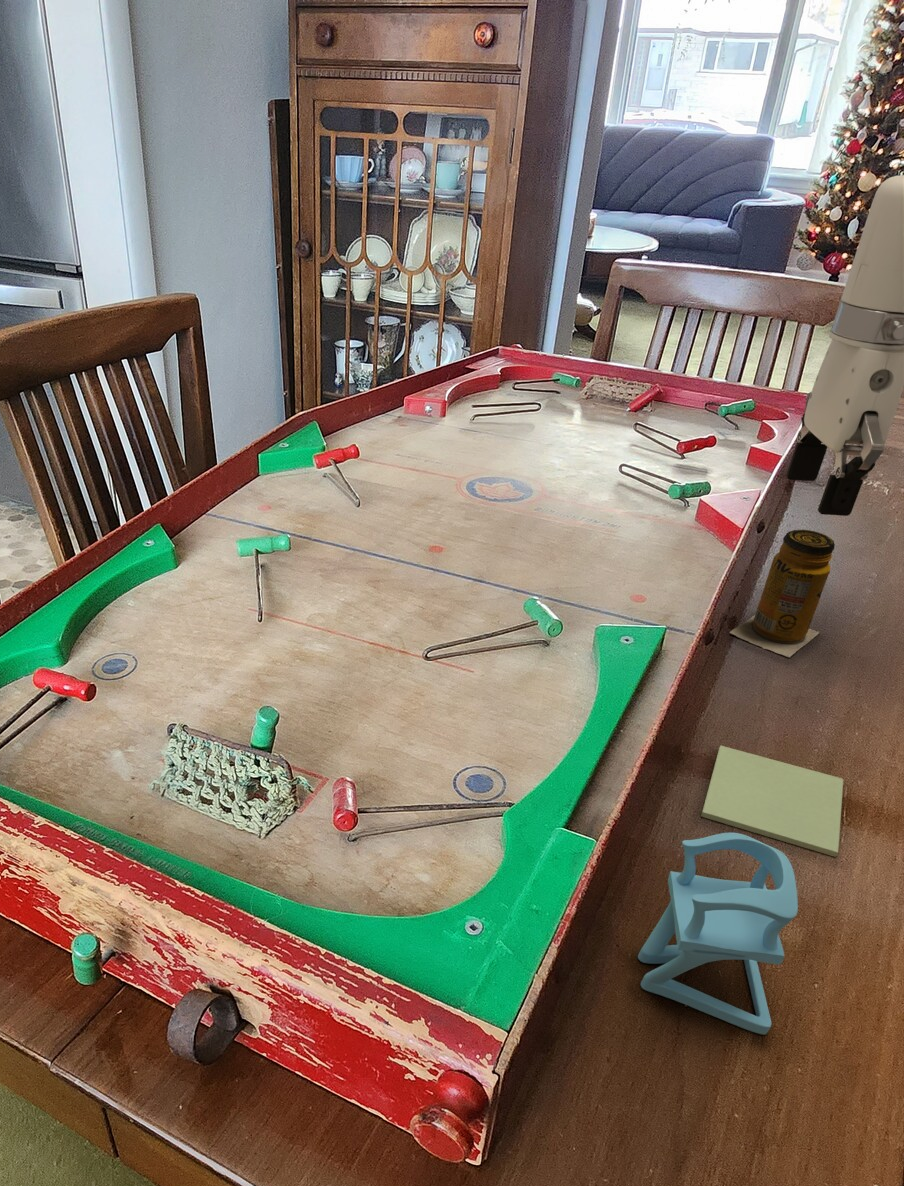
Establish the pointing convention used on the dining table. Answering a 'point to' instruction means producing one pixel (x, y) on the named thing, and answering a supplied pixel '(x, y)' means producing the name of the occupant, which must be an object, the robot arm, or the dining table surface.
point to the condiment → (790, 594)
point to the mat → (775, 800)
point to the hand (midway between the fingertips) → (816, 496)
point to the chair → (722, 927)
